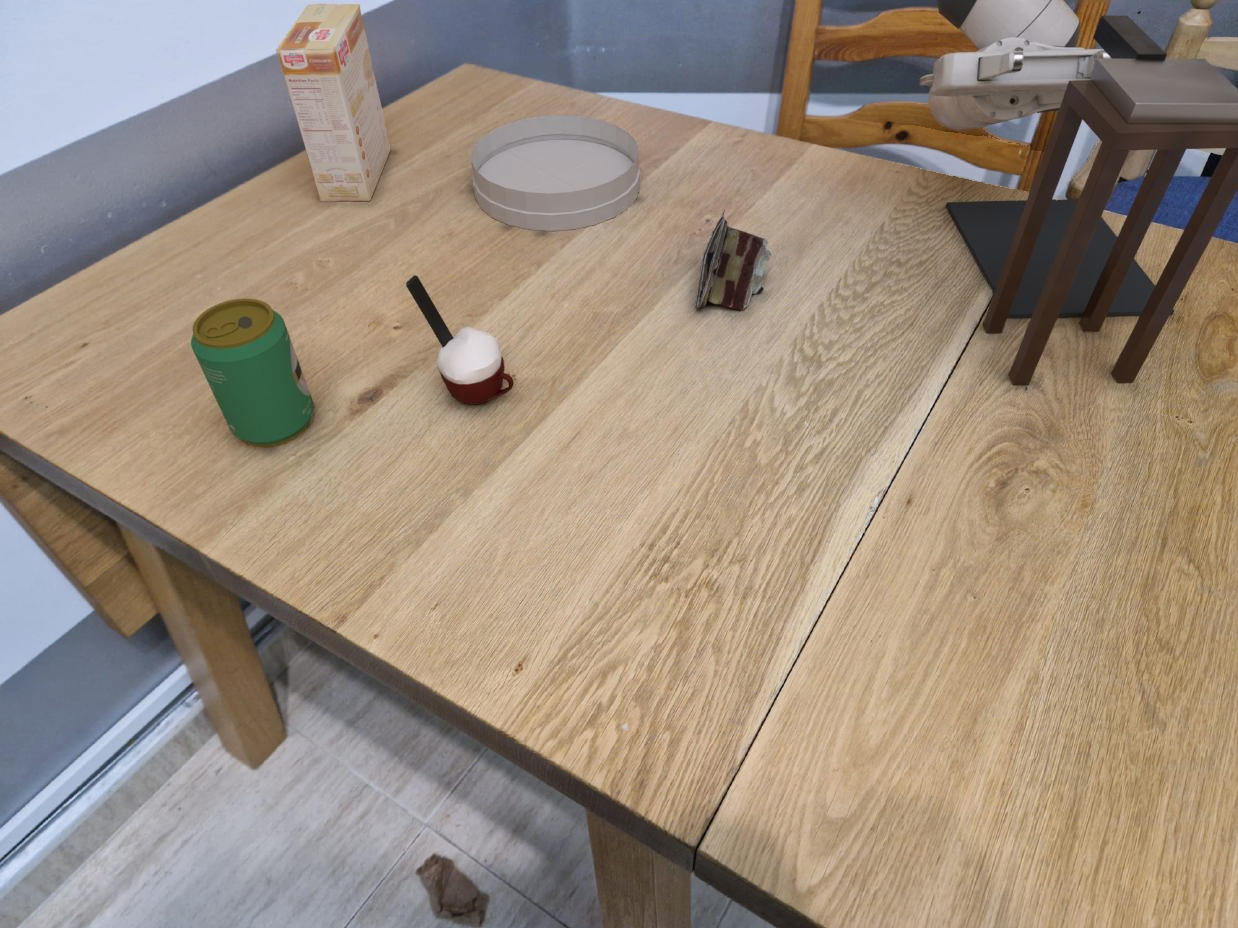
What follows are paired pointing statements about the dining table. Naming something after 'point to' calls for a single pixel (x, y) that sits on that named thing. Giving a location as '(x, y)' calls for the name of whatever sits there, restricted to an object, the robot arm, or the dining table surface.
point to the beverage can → (253, 371)
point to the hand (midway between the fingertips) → (1062, 60)
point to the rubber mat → (1045, 256)
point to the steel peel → (1158, 80)
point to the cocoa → (464, 355)
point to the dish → (555, 172)
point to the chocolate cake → (732, 267)
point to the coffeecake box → (336, 100)
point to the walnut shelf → (1117, 140)
